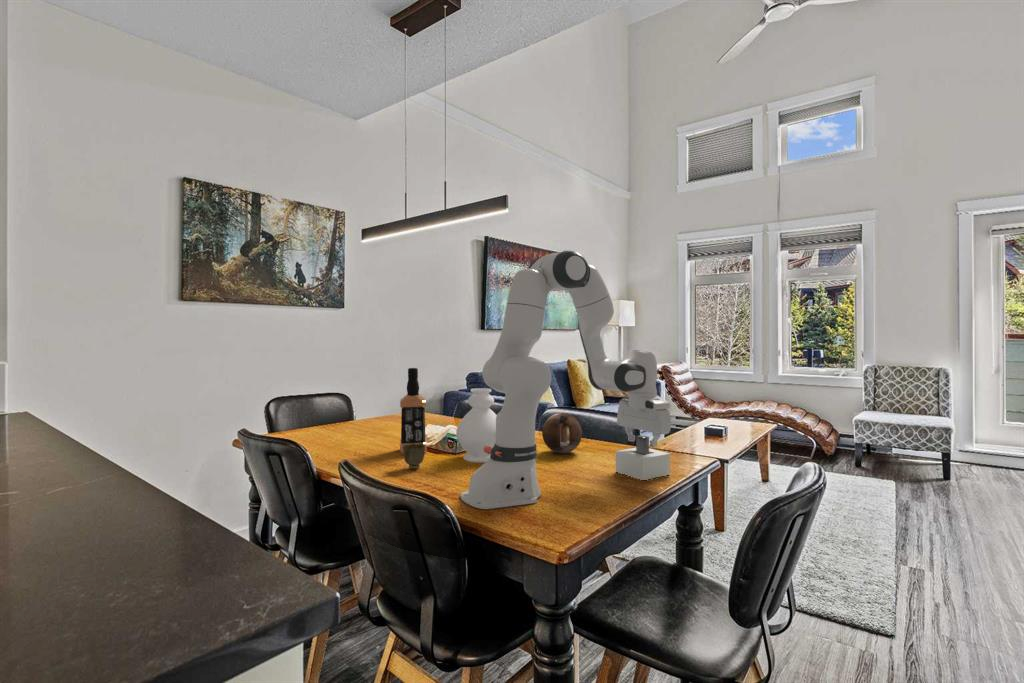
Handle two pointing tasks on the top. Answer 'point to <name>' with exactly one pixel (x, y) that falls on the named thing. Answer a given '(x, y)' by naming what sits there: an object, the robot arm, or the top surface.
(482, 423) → the decorative vase
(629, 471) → the block
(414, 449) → the cup
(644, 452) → the steel pin
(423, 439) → the whiskey bottle
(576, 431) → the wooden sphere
